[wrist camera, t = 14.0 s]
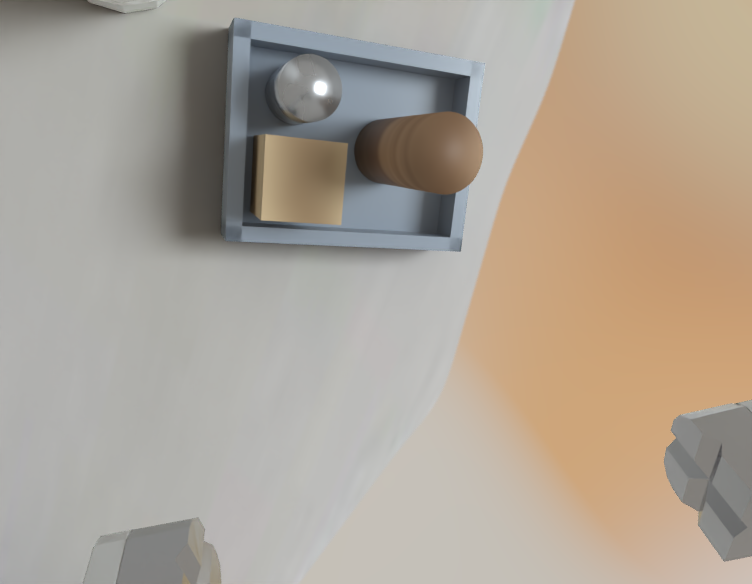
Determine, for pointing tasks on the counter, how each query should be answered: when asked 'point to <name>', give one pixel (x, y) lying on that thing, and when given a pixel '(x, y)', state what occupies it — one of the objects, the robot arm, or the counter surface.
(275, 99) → the silver dome cap
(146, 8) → the white cup
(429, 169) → the brown wooden peg
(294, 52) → the tray
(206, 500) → the counter surface
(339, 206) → the oak block
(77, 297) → the counter surface
